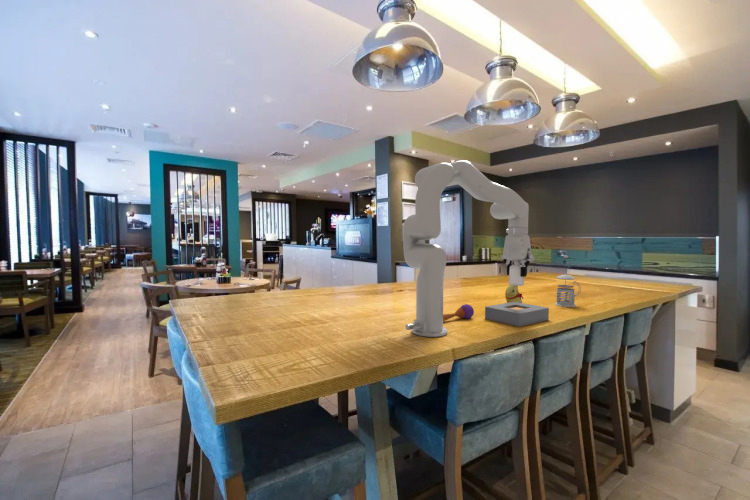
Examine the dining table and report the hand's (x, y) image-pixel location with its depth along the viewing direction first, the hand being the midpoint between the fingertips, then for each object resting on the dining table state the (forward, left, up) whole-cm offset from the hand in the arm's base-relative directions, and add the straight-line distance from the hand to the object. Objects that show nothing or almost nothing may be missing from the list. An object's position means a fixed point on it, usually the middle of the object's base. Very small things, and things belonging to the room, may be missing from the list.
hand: (516, 275), depth 142 cm
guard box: (0, 0, -18) cm, 18 cm away
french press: (+48, +4, -18) cm, 52 cm away
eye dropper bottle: (0, 0, -4) cm, 4 cm away
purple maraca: (-22, +13, -19) cm, 32 cm away
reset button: (0, 0, -17) cm, 17 cm away
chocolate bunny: (+18, +13, -18) cm, 29 cm away
